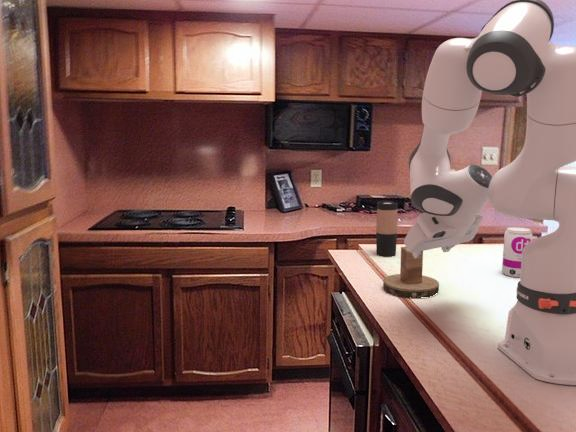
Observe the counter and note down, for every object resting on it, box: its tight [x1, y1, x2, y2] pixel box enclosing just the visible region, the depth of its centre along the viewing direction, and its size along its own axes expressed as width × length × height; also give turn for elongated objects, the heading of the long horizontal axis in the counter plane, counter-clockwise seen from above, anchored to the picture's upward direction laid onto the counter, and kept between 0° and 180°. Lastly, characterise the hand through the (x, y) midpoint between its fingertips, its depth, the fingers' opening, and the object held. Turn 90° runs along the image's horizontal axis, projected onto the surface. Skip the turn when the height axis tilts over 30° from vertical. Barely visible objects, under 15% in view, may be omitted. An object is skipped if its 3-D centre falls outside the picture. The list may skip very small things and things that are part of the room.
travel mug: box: [375, 200, 399, 258], centre depth 188 cm, size 8×8×20 cm
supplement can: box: [501, 226, 534, 279], centre depth 161 cm, size 8×8×15 cm
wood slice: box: [382, 273, 440, 299], centre depth 148 cm, size 16×16×3 cm
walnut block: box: [399, 246, 424, 284], centre depth 147 cm, size 5×5×10 cm
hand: (430, 253), depth 135 cm, fingers open, 8 cm apart
